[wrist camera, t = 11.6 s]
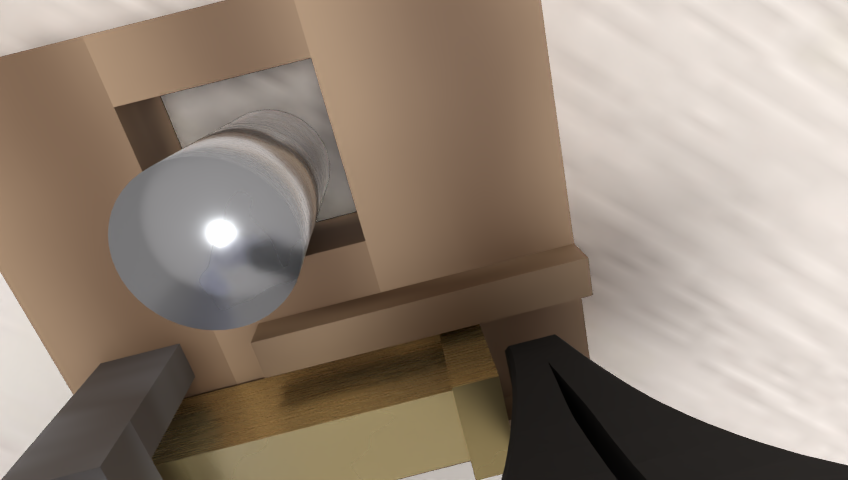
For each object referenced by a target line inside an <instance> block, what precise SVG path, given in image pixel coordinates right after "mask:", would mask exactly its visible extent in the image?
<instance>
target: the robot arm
mask: <svg viewBox="0 0 848 480" xmlns="http://www.w3.org/2000/svg"><path fill="white" fill-rule="evenodd" d="M505 355H506V360H507V364H508V369H509V374H510V379H511V384H512V417H511V430H510V438H509V445H508V451H507V457H506V462H505V467H504V471H503V475H502V480H848V465H844V464H839V463H835V462H831V461H826V460H822V459H818V458H814V457H809V456H805V455H801V454H798V453H794V452H791V451H787V450H784V449H781V448H777V447H774V446H770V445H767V444H764V443H761V442H758V441H755V440H752V439H749V438H746V437H743V436H740V435H737V434H734V433H732V432H729V431H726V430H724V429H721V428H718V427H716V426H713V425H710V424H708V423H705V422H703V421H700V420H698V419H696V418H693V417H691V416H689V415H687V414H684V413H682V412H680V411H678V410H676V409H674V408H672V407H669V406H667V405H665V404H663V403H661V402H659V401H657V400H655V399H653V398H651V397H649V396H648V395H646V394H644V393H642V392H641V391H639V390H637V389H635V388H634V387H632V386H630V385H629V384H627V383H625V382H624V381H622V380H620V379H619V378H617V377H616V376H614V375H613V374H611V373H610V372H608V371H606V370H605V369H603V368H602V367H600V366H599V365H597V364H596V363H594V362H593V361H592V360H590V359H589V358H587V357H586V356H584V355H583V354H582V353H580V352H579V351H578V350H576V349H575V348H573V347H572V346H571V345H569V344H568V343H567V342H565V341H564V340H563V339H561V338H560V337H558V336H557V335H555V334H554V335H550V336H546V337H542V338H538V339H534V340H530V341H526V342H522V343H518V344H514V345H510V346H508V347H507V349H506V350H505Z"/></svg>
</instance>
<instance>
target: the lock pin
mask: <svg viewBox="0 0 848 480" xmlns="http://www.w3.org/2000/svg"><path fill="white" fill-rule="evenodd" d="M510 430H511V429H510V425H509V420H508V415H507V411H506V406H505V402H504V397H503V392H502V388H501V383H500V378H499V375H498V372H497V369H496V367H495V364H494V362H493V359H492V356H491V354H490V351H489V348H488V346H487V343H486V340H485V338H484V335H483V333H482V330H481V327H480V325H479V324H477V325H473V326H469V327H465V328H461V329H458V330H454V331H450V332H446V333H442V334H439V335H435V336H431V337H427V338H423V339H419V340H415V341H411V342H407V343H403V344H399V345H395V346H391V347H387V348H383V349H380V350H376V351H372V352H368V353H364V354H360V355H356V356H352V357H348V358H344V359H340V360H336V361H332V362H328V363H324V364H320V365H316V366H312V367H309V368H305V369H301V370H297V371H293V372H289V373H285V374H281V375H277V376H273V377H269V378H265V379H261V380H257V381H253V382H249V383H245V384H241V385H238V386H234V387H230V388H226V389H222V390H218V391H214V392H210V393H206V394H202V395H198V396H194V397H190V398H186V399H183V400H182V402H181V404H180V406H179V408H178V410H177V412H176V413H175V415H174V417H173V419H172V421H171V423H170V425H169V427H168V428H167V430H166V432H165V434H164V436H163V438H162V440H161V442H160V443H159V445H158V447H157V449H156V451H155V453H154V455H153V456H152V458H151V459H152V461H153V463H154V465H155V466H156V468H157V470H158V472H159V474H160V475H161V477H162V479H163V480H396V479H400V478H404V477H408V476H412V475H416V474H420V473H424V472H428V471H432V470H436V469H440V468H444V467H448V466H452V465H455V464H459V463H463V462H467V461H471V463H472V467H473V471H474V475H475V479H476V480H480V479H484V478H488V477H492V476H496V475H500V474H503V471H504V467H505V462H506V457H507V451H508V445H509V438H510Z"/></svg>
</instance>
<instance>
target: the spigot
mask: <svg viewBox="0 0 848 480" xmlns="http://www.w3.org/2000/svg"><path fill="white" fill-rule="evenodd" d="M329 175H330V164H329V158H328V154H327V151H326V148H325V146H324V144H323V142H322V140H321V139H320V137H319V136H318V134H317V133H316V132H315V131H314V130H313V129H312V128H311V127H310V126H309V125H308V124H307V123H305V122H304V121H303V120H301V119H299V118H297V117H296V116H294V115H291V114H289V113H286V112H282V111H276V110H260V111H255V112H251V113H248V114H246V115H243V116H241V117H240V118H238V119H236V120H234V121H232V122H230V123H229V124H227V125H225V126H223V127H221V128H220V129H218V130H216V131H214V132H212V133H211V134H209V135H207V136H205V137H203V138H202V139H200V140H198V141H196V142H194V143H192V144H191V145H189V146H187V147H185V148H183V149H182V150H180V151H178V152H176V153H174V154H173V155H171V156H169V157H167V158H165V159H163V160H162V161H160V162H158V163H156V164H154V165H153V166H151V167H149V168H147V169H146V170H144V171H143V172H141V173H140V174H138V175H137V176H136V177H135V178H133V179H132V180H131V181H130V182H129V183H128V184H127V185H126V187H125V188H124V189H123V190H122V192H121V193H120V195H119V196H118V198H117V200H116V202H115V204H114V207H113V209H112V211H111V216H110V220H109V227H108V242H109V249H110V253H111V258H112V260H113V263H114V266H115V268H116V270H117V272H118V274H119V276H120V278H121V280H122V281H123V282H124V284H125V285H126V287H127V288H128V289H129V290H130V292H131V293H132V294H133V295H134V296H135V297H136V298H137V299H138V300H139V301H140V302H141V303H143V304H144V305H145V306H146V307H148V308H149V309H150V310H152V311H153V312H155V313H156V314H158V315H160V316H162V317H164V318H166V319H167V320H170V321H172V322H175V323H177V324H180V325H184V326H187V327H191V328H196V329H202V330H228V329H234V328H239V327H243V326H246V325H250V324H252V323H254V322H257V321H259V320H261V319H262V318H264V317H266V316H268V315H269V314H270V313H272V312H273V311H274V310H276V309H277V308H278V307H279V306H280V305H281V304H282V303H283V302H284V301H285V300H286V298H287V297H288V296H289V294H290V293H291V291H292V289H293V288H294V286H295V284H296V282H297V279H298V276H299V273H300V270H301V267H302V264H303V261H304V258H305V254H306V251H307V248H308V245H309V242H310V239H311V235H312V232H313V229H314V226H315V223H316V220H317V216H318V213H319V210H320V207H321V204H322V201H323V197H324V194H325V191H326V188H327V185H328V181H329Z"/></svg>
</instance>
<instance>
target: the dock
mask: <svg viewBox="0 0 848 480" xmlns="http://www.w3.org/2000/svg"><path fill="white" fill-rule="evenodd" d="M309 58H311V59H312V62H313V66H314V69H315V72H316V76H317V79H318V83H319V86H320V89H321V93H322V96H323V99H324V103H325V106H326V109H327V113H328V116H329V120H330V123H331V126H332V130H333V133H334V136H335V140H336V143H337V146H338V150H339V153H340V157H341V160H342V163H343V167H344V170H345V173H346V177H347V180H348V183H349V187H350V190H351V194H352V197H353V200H354V204H355V207H356V210H357V212H355V213H351V214H347V215H343V216H339V217H335V218H332V219H328V220H324V221H320V222H316V223H315V226H314V229H313V232H312V235H311V239H310V242H309V245H308V248H307V251H306V254H305V258H304V261H303V264H302V267H301V270H300V273H299V276H298V279H297V282H296V284H295V286H294V288H293V289H292V291H291V293H290V294H289V296H288V297H287V298H286V300H285V301H284V302H283V303H282V304H281V305H280V306H279V307H278V308H277V309H276V310H274V311H273V312H272V313H270V314H269V315H268V316H266V317H264V318H262V319H261V320H259V321H257V322H254V323H252V324H250V325H246V326H243V327H239V328H234V329H228V330H202V329H196V328H191V327H187V326H184V325H180V324H177V323H175V322H172V321H170V320H167V319H166V318H164V317H162V316H160V315H158V314H156V313H155V312H153V311H152V310H150V309H149V308H148V307H146V306H145V305H144V304H143V303H141V302H140V301H139V300H138V299H137V298H136V297H135V296H134V295H133V294H132V293H131V292H130V290H129V289H128V288H127V287H126V285H125V284H124V282H123V281H122V280H121V278H120V276H119V274H118V272H117V270H116V268H115V266H114V263H113V260H112V258H111V253H110V249H109V242H108V227H109V220H110V216H111V211H112V209H113V207H114V204H115V202H116V200H117V198H118V196H119V195H120V193H121V192H122V190H123V189H124V188H125V187H126V185H127V184H128V183H129V182H130V181H131V180H132V179H133V178H135V177H136V176H137V175H138V174H140V173H141V172H143V171H144V170H146V169H147V168H149V167H151V166H153V165H154V164H156V163H158V162H160V161H162V160H163V159H165V158H167V157H169V156H171V155H173V154H174V153H176V152H178V151H180V150H182V148H181V146H180V144H179V141H178V139H177V136H176V134H175V131H174V129H173V127H172V124H171V122H170V119H169V117H168V114H167V112H166V109H165V107H164V105H163V102H162V100H161V97H160V96H162V95H166V94H170V93H174V92H178V91H182V90H186V89H190V88H194V87H198V86H202V85H206V84H210V83H214V82H218V81H221V80H225V79H229V78H233V77H237V76H241V75H245V74H249V73H253V72H257V71H261V70H265V69H269V68H273V67H277V66H281V65H285V64H289V63H293V62H297V61H301V60H305V59H309ZM0 272H1V274H2V275H3V277H4V279H5V280H6V282H7V284H8V285H9V287H10V289H11V290H12V292H13V294H14V296H15V297H16V299H17V301H18V302H19V304H20V306H21V307H22V309H23V311H24V312H25V314H26V316H27V317H28V319H29V321H30V322H31V324H32V326H33V328H34V329H35V331H36V333H37V334H38V336H39V338H40V339H41V341H42V343H43V344H44V346H45V348H46V349H47V351H48V353H49V354H50V356H51V358H52V359H53V361H54V363H55V365H56V366H57V368H58V370H59V371H60V373H61V375H62V376H63V378H64V380H65V381H66V383H67V385H68V386H69V388H70V390H71V391H72V393H73V396H72V397H71V399H70V400H69V401H68V402H67V403H66V404H65V406H64V407H63V408H62V409H61V410H60V411H59V413H58V414H57V415H56V416H55V417H54V419H53V420H52V421H51V422H50V423H49V424H48V426H47V427H46V428H45V429H44V430H43V431H42V433H41V434H40V435H39V436H38V437H37V438H36V440H35V441H34V442H33V443H32V444H31V446H30V447H29V448H28V449H27V450H26V451H25V453H24V454H23V455H22V456H21V457H20V458H19V460H18V461H17V462H16V463H15V464H14V465H13V467H12V468H11V469H10V470H9V471H8V472H7V474H6V475H5V476H4V477H3V478H2V480H163V479H162V477H161V475H160V474H159V472H158V470H157V468H156V466H155V465H154V463H153V461H152V459H151V458H152V456H153V455H154V453H155V451H156V449H157V447H158V445H159V443H160V442H161V440H162V438H163V436H164V434H165V432H166V430H167V428H168V427H169V425H170V423H171V421H172V419H173V417H174V415H175V413H176V412H177V410H178V408H179V406H180V404H181V402H182V400H183V399H186V398H190V397H194V396H198V395H202V394H206V393H210V392H214V391H218V390H222V389H226V388H230V387H234V386H238V385H241V384H245V383H249V382H253V381H257V380H261V379H265V378H269V377H273V376H277V375H281V374H285V373H289V372H293V371H297V370H301V369H305V368H309V367H312V366H316V365H320V364H324V363H328V362H332V361H336V360H340V359H344V358H348V357H352V356H356V355H360V354H364V353H368V352H372V351H376V350H380V349H383V348H387V347H391V346H395V345H399V344H403V343H407V342H411V341H415V340H419V339H423V338H427V337H431V336H435V335H439V334H442V333H446V332H450V331H454V330H458V329H461V328H465V327H469V326H473V325H477V324H479V325H480V327H481V330H482V333H483V335H484V338H485V340H486V343H487V346H488V348H489V351H490V354H491V356H492V359H493V362H494V364H495V367H496V369H497V372H498V375H499V378H500V383H501V388H502V392H503V397H504V402H505V406H506V411H507V415H508V420H509V425H510V429H511V417H512V384H511V379H510V374H509V369H508V364H507V360H506V355H505V350H506V349H507V347H508V346H510V345H514V344H518V343H522V342H526V341H530V340H534V339H538V338H542V337H546V336H550V335H554V334H555V335H557V336H558V337H560V338H561V339H563V340H564V341H565V342H567V343H568V344H569V345H571V346H572V347H573V348H575V349H576V350H578V351H579V352H580V353H582V354H583V355H584V356H586V357H587V358H589V350H588V343H587V336H586V328H585V321H584V314H583V306H582V299H581V298H584V297H588V296H592V295H593V293H592V285H591V277H590V269H589V261H588V257H587V256H586V255H585V254H584V253H583V252H582V251H581V250H580V249H579V248H578V247H577V246H576V245H575V244H574V240H573V233H572V225H571V218H570V211H569V203H568V196H567V189H566V181H565V174H564V167H563V159H562V152H561V145H560V137H559V130H558V123H557V115H556V108H555V101H554V93H553V86H552V79H551V71H550V64H549V56H548V49H547V42H546V34H545V27H544V20H543V12H542V5H541V0H225V1H221V2H217V3H213V4H209V5H205V6H201V7H197V8H193V9H189V10H185V11H181V12H177V13H173V14H169V15H165V16H161V17H157V18H153V19H149V20H145V21H141V22H137V23H133V24H129V25H125V26H121V27H117V28H114V29H110V30H106V31H102V32H98V33H94V34H90V35H86V36H82V37H78V38H74V39H70V40H66V41H62V42H58V43H54V44H50V45H46V46H42V47H38V48H34V49H30V50H26V51H22V52H18V53H14V54H10V55H6V56H2V57H0ZM589 359H590V358H589ZM467 462H469V461H467ZM463 463H465V462H463ZM459 464H461V463H459ZM455 465H457V464H455ZM452 466H453V465H452ZM448 467H449V466H448ZM444 468H445V467H444ZM440 469H441V468H440ZM436 470H437V469H436ZM432 471H433V470H432ZM428 472H429V471H428ZM424 473H426V472H424ZM420 474H422V473H420ZM416 475H418V474H416ZM412 476H414V475H412ZM408 477H410V476H408ZM404 478H406V477H404ZM400 479H402V478H400ZM396 480H398V479H396Z"/></svg>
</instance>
